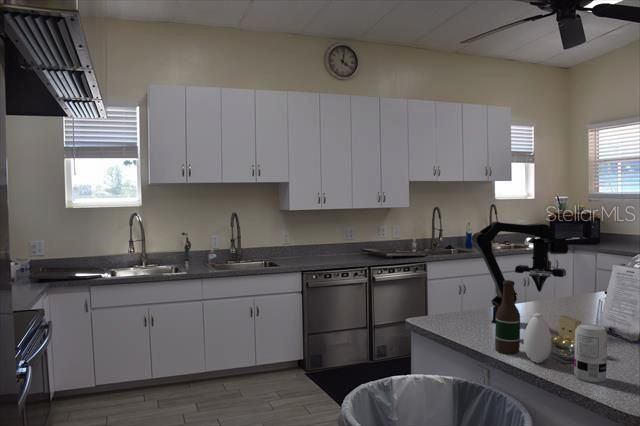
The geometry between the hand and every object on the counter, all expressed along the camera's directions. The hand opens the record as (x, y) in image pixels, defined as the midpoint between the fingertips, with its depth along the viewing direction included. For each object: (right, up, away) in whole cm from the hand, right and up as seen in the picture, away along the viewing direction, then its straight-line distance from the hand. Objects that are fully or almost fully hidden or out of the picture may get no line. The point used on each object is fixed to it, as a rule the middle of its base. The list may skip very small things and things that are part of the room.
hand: (539, 291), depth 211 cm
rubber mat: (-10, -14, -37) cm, 41 cm away
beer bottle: (-28, -15, -39) cm, 50 cm away
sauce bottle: (-22, -15, -50) cm, 56 cm away
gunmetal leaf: (-10, -14, -45) cm, 48 cm away
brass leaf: (-7, -14, -37) cm, 40 cm away
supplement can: (-13, -16, -63) cm, 67 cm away
